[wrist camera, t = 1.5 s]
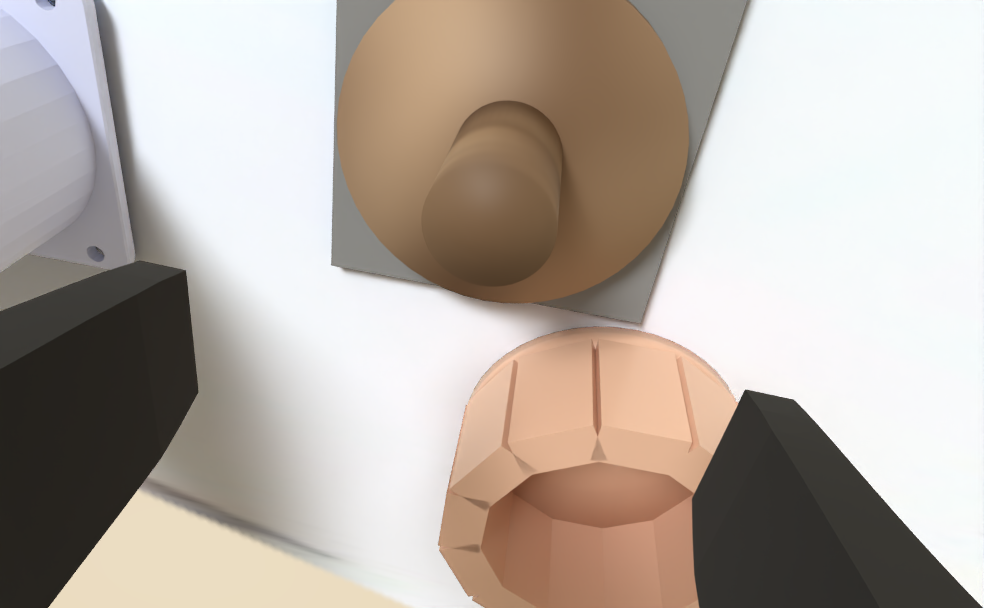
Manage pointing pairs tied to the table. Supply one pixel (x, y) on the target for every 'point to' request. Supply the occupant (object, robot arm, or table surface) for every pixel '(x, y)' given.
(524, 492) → the peach cylinder
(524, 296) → the lid
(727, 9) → the mat
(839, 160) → the table surface
